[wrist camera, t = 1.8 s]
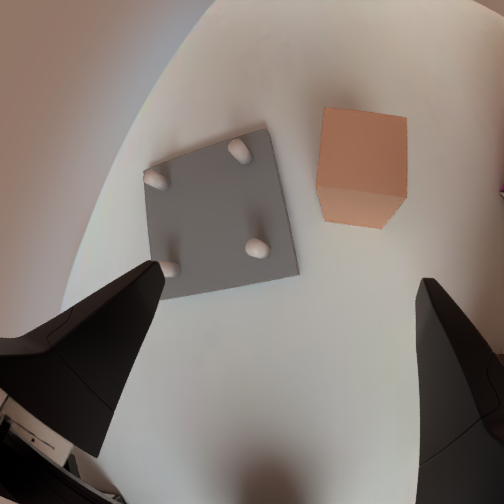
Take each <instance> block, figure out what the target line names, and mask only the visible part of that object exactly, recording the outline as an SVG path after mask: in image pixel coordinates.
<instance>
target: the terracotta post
mask: <svg viewBox="0 0 504 504" xmlns="http://www.w3.org/2000/svg"><path fill="white" fill-rule="evenodd" d="M316 188H317V192H318V196H319V200H320V204H321V208H322V212H323V216H324V220H325V221H326V222H334V223H341V224H348V225H356V226H363V227H370V228H377V229H382V228H383V227H384V225H385V224H386V223H387V222H388V221H389V219H390V218H391V217H392V216H393V214H394V213H395V212H396V211H397V209H398V208H399V207H400V206H401V204H402V203H403V202H404V201H405V199H406V198H407V118H406V117H400V116H394V115H387V114H380V113H373V112H365V111H356V110H346V109H335V108H324V110H323V122H322V133H321V143H320V153H319V163H318V172H317V181H316Z"/></svg>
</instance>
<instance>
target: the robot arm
mask: <svg viewBox="0 0 504 504" xmlns="http://www.w3.org/2000/svg"><path fill="white" fill-rule="evenodd" d="M164 286H165V276H164V274H163V271H162V269H161V266H160V264H159V262H158V261H153V260H148V261H146V262H144V263H142V264H141V265H139V266H137V267H136V268H134V269H132V270H131V271H129V272H127V273H126V274H124V275H122V276H121V277H119V278H117V279H116V280H114V281H112V282H111V283H109V284H107V285H106V286H104V287H103V288H101V289H99V290H98V291H96V292H95V293H93V294H91V295H90V296H88V297H87V298H85V299H83V300H82V301H80V302H79V303H77V304H75V305H74V306H72V307H71V308H69V309H68V310H66V311H64V312H63V313H61V314H60V315H58V316H56V317H55V318H53V319H51V320H50V321H48V322H46V323H44V324H42V325H41V326H39V327H37V328H36V329H34V330H32V331H30V332H28V333H27V334H25V335H23V336H20V337H17V338H0V496H2V497H4V498H6V499H9V500H11V501H13V502H16V503H18V504H121V503H119V502H118V501H116V500H114V499H112V498H110V497H108V496H107V495H105V494H103V493H101V492H100V491H98V490H96V489H95V488H93V487H91V486H90V485H88V484H87V483H85V482H84V481H82V480H81V479H80V475H79V472H78V468H77V464H76V460H75V456H74V455H73V454H71V451H72V449H73V447H74V445H75V446H77V447H78V448H80V449H82V450H83V451H85V452H87V453H88V454H90V455H92V456H93V457H95V458H97V457H98V455H99V453H100V450H101V447H102V444H103V442H104V439H105V436H106V433H107V431H108V428H109V425H110V422H111V420H112V417H113V415H114V411H115V409H116V406H117V404H118V401H119V399H120V396H121V394H122V391H123V389H124V386H125V384H126V381H127V379H128V376H129V374H130V371H131V369H132V367H133V364H134V362H135V359H136V357H137V355H138V352H139V350H140V348H141V345H142V343H143V341H144V338H145V336H146V334H147V332H148V329H149V327H150V325H151V323H152V320H153V318H154V315H155V312H156V309H157V306H158V303H159V300H160V297H161V294H162V291H163V288H164ZM415 307H416V352H417V363H418V377H419V395H420V456H419V466H420V467H419V471H418V484H417V494H416V503H415V504H504V365H503V364H502V362H501V361H500V360H499V358H498V357H497V355H496V354H495V353H494V352H493V350H492V349H491V347H490V346H489V345H488V343H487V342H486V340H485V339H484V338H483V336H482V335H481V334H480V333H479V331H478V330H477V329H476V327H475V326H474V325H473V324H472V322H471V321H470V320H469V319H468V317H467V316H466V315H465V314H464V312H463V311H462V310H461V309H460V307H459V306H458V305H457V304H456V303H455V301H454V300H453V299H452V298H451V297H450V296H449V294H448V293H447V292H446V291H445V290H444V289H443V287H442V286H441V285H440V284H439V283H438V282H437V281H436V280H435V279H434V278H422V280H421V282H420V286H419V289H418V292H417V295H416V301H415Z"/></svg>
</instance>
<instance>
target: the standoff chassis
mask: <svg viewBox="0 0 504 504" xmlns="http://www.w3.org/2000/svg"><path fill="white" fill-rule="evenodd" d="M143 172H144V176H143V181H144V188H145V202H146V214H147V225H148V235H149V244H150V253H151V260H153V261H158V262H159V264H160V266H161V269H162V271H163V274H164V276H165V286H164V288H163V291H162V294H161V297H160V300H165V299H171V298H177V297H182V296H188V295H194V294H200V293H205V292H211V291H217V290H222V289H228V288H233V287H239V286H244V285H249V284H254V283H260V282H265V281H270V280H275V279H280V278H285V277H290V276H295V275H300V274H299V269H298V264H297V258H296V253H295V248H294V243H293V238H292V233H291V228H290V224H289V219H288V214H287V209H286V205H285V200H284V195H283V191H282V186H281V182H280V177H279V173H278V169H277V164H276V160H275V156H274V151H273V147H272V143H271V139H270V135H269V132H268V130H267V129H263V130H259V131H256V132H253V133H249V134H246V135H242V136H239V137H236V138H233V139H230V140H226V141H223V142H220V143H217V144H214V145H211V146H208V147H205V148H202V149H200V150H197V151H194V152H191V153H188V154H185V155H183V156H180V157H177V158H175V159H172V160H169V161H167V162H164V163H162V164H159V165H156V166H154V167H151V168H149V169H146V170H144V171H143Z"/></svg>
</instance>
